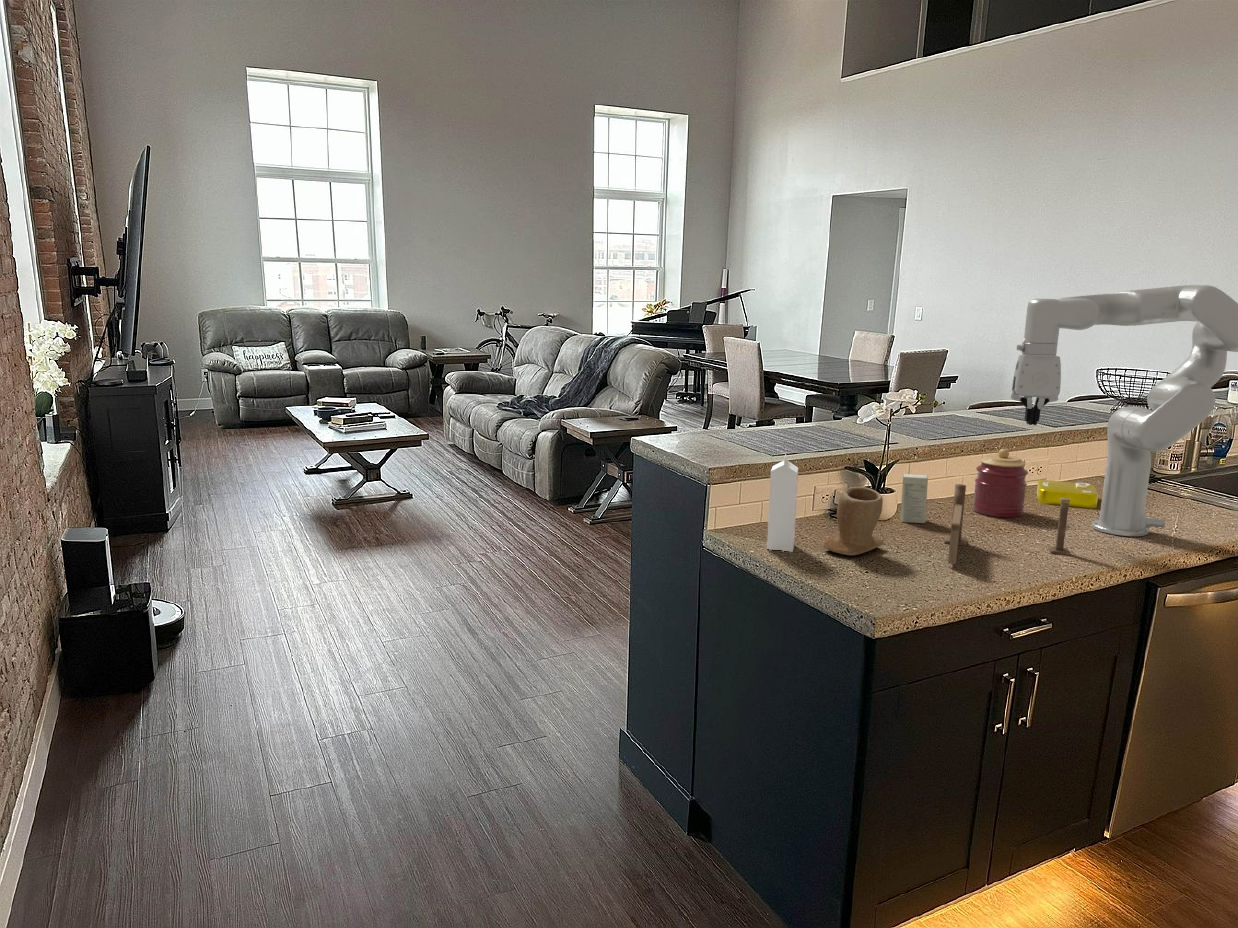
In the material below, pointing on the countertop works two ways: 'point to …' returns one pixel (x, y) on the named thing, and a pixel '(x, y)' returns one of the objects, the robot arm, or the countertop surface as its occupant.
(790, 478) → the milk
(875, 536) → the stone cup
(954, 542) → the panel
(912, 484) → the skincare box
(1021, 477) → the canister
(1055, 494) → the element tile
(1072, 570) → the countertop surface
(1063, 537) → the gate frame
